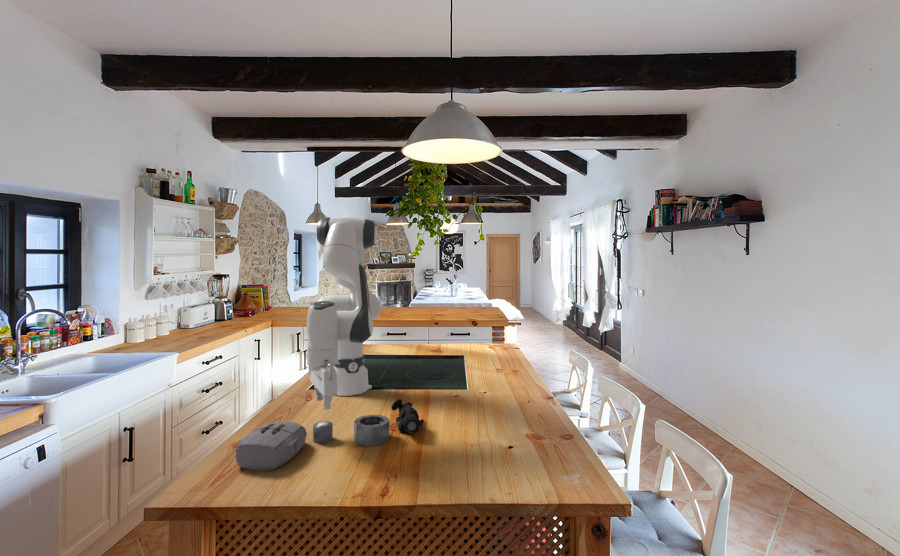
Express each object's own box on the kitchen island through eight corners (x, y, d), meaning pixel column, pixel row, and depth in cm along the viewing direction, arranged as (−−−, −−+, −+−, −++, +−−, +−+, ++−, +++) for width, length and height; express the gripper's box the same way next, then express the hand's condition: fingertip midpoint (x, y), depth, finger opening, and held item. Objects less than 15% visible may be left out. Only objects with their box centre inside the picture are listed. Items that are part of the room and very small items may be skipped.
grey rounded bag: (282, 474, 111) (316, 441, 130) (281, 441, 110) (316, 413, 130) (226, 470, 113) (268, 438, 132) (225, 437, 112) (268, 410, 132)
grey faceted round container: (350, 436, 134) (350, 418, 134) (382, 430, 139) (382, 412, 139) (360, 448, 125) (360, 429, 125) (393, 441, 130) (393, 423, 130)
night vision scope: (413, 448, 131) (387, 429, 130) (406, 427, 149) (383, 410, 147) (430, 426, 132) (405, 407, 131) (421, 408, 150) (398, 390, 148)
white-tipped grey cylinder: (311, 438, 132) (311, 422, 132) (330, 435, 135) (330, 419, 135) (315, 445, 127) (315, 428, 127) (334, 441, 130) (334, 425, 130)
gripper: (342, 363, 122) (343, 412, 123) (325, 350, 140) (325, 394, 141) (319, 365, 119) (319, 416, 120) (305, 352, 137) (305, 396, 138)
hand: (322, 404), depth 130 cm, fingers open, 8 cm apart
